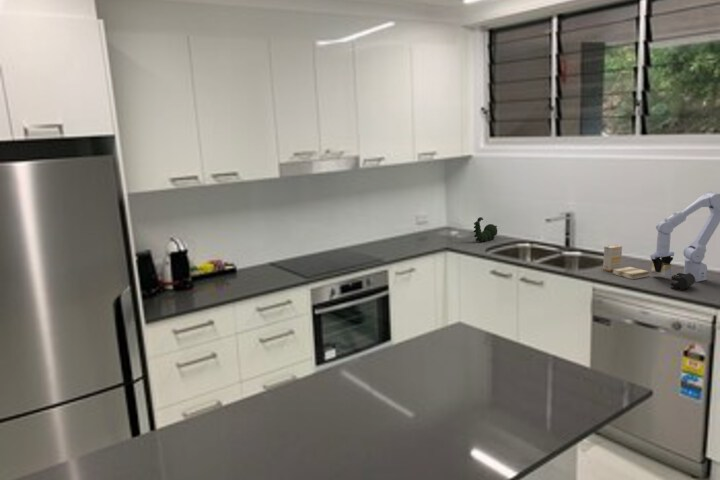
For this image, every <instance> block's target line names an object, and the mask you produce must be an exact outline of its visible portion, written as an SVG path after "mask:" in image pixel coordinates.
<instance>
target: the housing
mask: <svg viewBox="0 0 720 480" xmlns="http://www.w3.org/2000/svg"><path fill="white" fill-rule="evenodd" d="M651 263H652V264H651V269H650V270H651V272H650V273H651V274H653V275H658V276H662V277H669V276H672V263H670V264H668V263H664V262H662V265H661V270H660V272H655V267H654V264H653V262H651Z"/></svg>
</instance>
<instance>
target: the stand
mask: <svg viewBox="0 0 720 480" xmlns="http://www.w3.org/2000/svg"><path fill="white" fill-rule="evenodd" d="M612 274H613V275H616V276H619V277H623V278H626V279H631V280H636V279H641V278H647V277H649V276H650V271H649V270H646V269H641V268H637V267H633V266H624V267H621V268H618V269H613V271H612Z"/></svg>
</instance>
